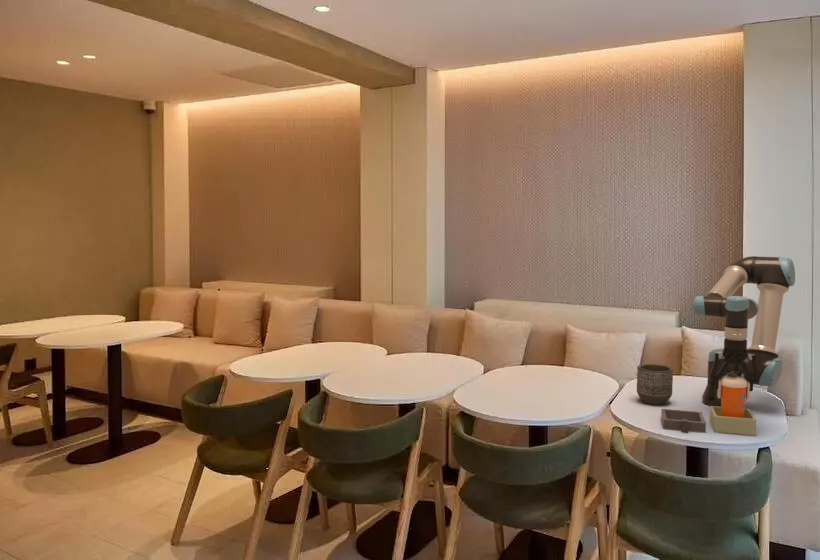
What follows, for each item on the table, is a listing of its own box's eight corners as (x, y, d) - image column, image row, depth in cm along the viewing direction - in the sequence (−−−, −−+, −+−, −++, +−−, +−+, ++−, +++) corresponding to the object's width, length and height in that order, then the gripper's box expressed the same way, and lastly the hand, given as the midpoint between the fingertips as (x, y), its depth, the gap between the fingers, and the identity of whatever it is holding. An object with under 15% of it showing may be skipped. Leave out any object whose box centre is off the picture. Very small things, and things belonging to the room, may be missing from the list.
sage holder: (709, 421, 248) (710, 405, 248) (748, 424, 244) (749, 409, 243) (714, 432, 235) (714, 416, 235) (755, 436, 231) (756, 419, 230)
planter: (672, 399, 278) (673, 365, 276) (671, 408, 265) (672, 372, 263) (638, 395, 284) (639, 362, 282) (634, 404, 271) (635, 369, 269)
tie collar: (661, 417, 253) (661, 406, 253) (701, 420, 249) (701, 409, 248) (663, 430, 237) (663, 419, 237) (706, 434, 233) (706, 422, 232)
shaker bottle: (714, 426, 240) (717, 373, 238) (723, 420, 246) (725, 369, 244) (740, 431, 233) (742, 377, 231) (748, 425, 239) (751, 373, 237)
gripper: (704, 338, 236) (702, 398, 238) (770, 342, 229) (767, 403, 232) (702, 335, 243) (700, 393, 245) (766, 338, 236) (763, 398, 239)
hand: (733, 398), depth 239 cm, fingers closed on shaker bottle, 9 cm apart
